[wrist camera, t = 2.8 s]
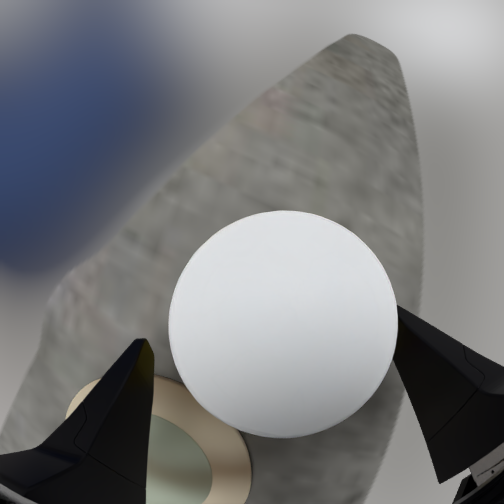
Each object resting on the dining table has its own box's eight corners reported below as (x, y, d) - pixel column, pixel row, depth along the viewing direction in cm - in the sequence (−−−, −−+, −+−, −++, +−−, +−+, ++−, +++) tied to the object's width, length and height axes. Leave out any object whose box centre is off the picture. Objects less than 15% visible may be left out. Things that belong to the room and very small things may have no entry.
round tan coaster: (272, 516, 13) (273, 526, 12) (111, 520, 12) (105, 527, 11) (219, 355, 17) (216, 357, 15) (53, 379, 16) (42, 380, 14)
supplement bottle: (269, 399, 16) (306, 520, 4) (188, 336, 17) (66, 340, 5) (331, 318, 18) (470, 286, 5) (252, 258, 19) (258, 123, 6)
